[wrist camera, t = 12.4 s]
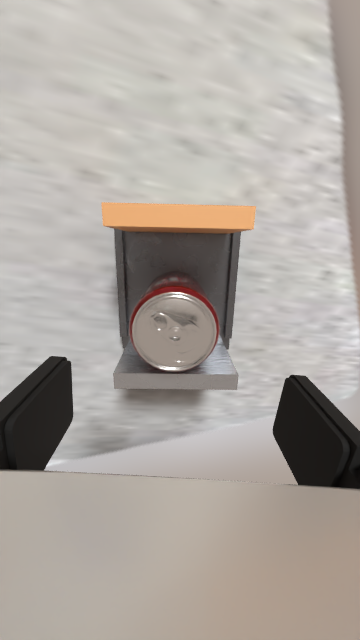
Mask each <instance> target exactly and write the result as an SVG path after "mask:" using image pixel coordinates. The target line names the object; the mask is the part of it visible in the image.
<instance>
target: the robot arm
mask: <svg viewBox="0 0 360 640" xmlns="http://www.w3.org/2000/svg"><path fill="white" fill-rule="evenodd" d="M72 419H73V398H72V373H71V362H70V361H67V358H66V357H56V356H51V357H49V358H48V359H47V360H46V361H45V362H44V363H43V364H41V365H40V366H39V367H38V368H37V369H36V370H35V371H34V372H33V373H32V374H30V375H29V376H28V377H27V378H26V379H25V380H24V381H23V382H22V383H21V384H19V385H18V386H17V387H16V388H15V389H14V390H13V391H12V392H11V393H9V394H8V395H7V396H6V397H5V398H4V399H3V400H2V401H1V402H0V640H360V431H359V430H358V429H357V428H356V427H355V426H354V425H353V424H352V423H351V422H350V421H349V420H348V419H347V418H346V417H345V416H344V415H343V414H342V413H341V412H340V411H339V410H338V409H337V408H336V407H335V406H334V404H333V403H332V402H331V401H330V400H329V399H328V398H327V397H326V396H325V395H324V394H323V393H322V392H321V391H320V390H319V389H318V388H317V387H316V386H315V385H314V384H313V383H312V382H311V381H310V380H309V379H308V378H307V377H306V376H300V375H291V376H290V377H289V378H286V380H285V383H284V387H283V390H282V394H281V398H280V402H279V406H278V410H277V414H276V418H275V422H274V426H273V435H274V437H275V440H276V442H277V443H278V445H279V447H280V449H281V451H282V453H283V455H284V457H285V459H286V461H287V463H288V465H289V467H290V469H291V471H292V473H293V475H294V477H295V479H296V481H297V483H298V485H290V484H275V483H258V482H243V481H242V482H241V481H226V480H209V479H192V478H173V477H156V476H137V475H119V474H100V473H99V474H98V473H81V472H61V471H44V469H45V467H46V465H47V464H48V462H49V460H50V458H51V457H52V455H53V453H54V452H55V450H56V448H57V446H58V445H59V443H60V441H61V440H62V438H63V436H64V434H65V433H66V431H67V429H68V427H69V426H70V424H71V422H72Z"/></svg>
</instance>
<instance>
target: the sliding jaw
mask: <svg viewBox="0 0 360 640" xmlns="http://www.w3.org/2000/svg"><path fill="white" fill-rule="evenodd" d="M255 210H256V206H225V205H184V204H143V203H103V202H102V216H103V226H106V227H110V228H115V229H119V230H123V231H127V232H169V233H214V234H230V233H235V232H241V231H246V230H252V229H254V219H255Z"/></svg>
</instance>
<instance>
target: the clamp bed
mask: <svg viewBox="0 0 360 640" xmlns="http://www.w3.org/2000/svg"><path fill="white" fill-rule="evenodd" d="M114 231H115V249H116V266H117V284H118V302H119V320H120V337H122V341H123V348H125V350H124V352H123V354H122V356H121V358H120V360H119V363H118V365H117V367H116V369H115V371H114V373H113V376H114V389H215V390H237V384H238V373H237V370H236V368H235V366H234V364H233V362H232V360H231V358H230V356H229V354H228V351H227V349H229V338H231V337H232V326H233V315H234V303H235V292H236V281H237V270H238V259H239V247H240V236H241V232H235V233H230V234H214V233H169V232H127V231H123V230H119V229H115V228H114ZM171 271H180V272H184V273H187V274H189V275H191V276H192V277H193V278H195V279H196V280H197V281H198V282H199V284H200V285H201V287H202V289H203V290H204V292H205V294H206V295H207V297H208V299H209V300H210V302H211V304H212V306H213V307H214V309H215V311H216V313H217V316H218V319H219V327H220V331H219V338H218V341H217V344H216V346H215V348H214V350H213V352H212V353H211V354H210V356H209V357H208V358H207V359H206V360H205V361H203V362H202V363H201V364H200V365H198V366H196V367H194V368H192V369H189V370H185V371H179V372H169V371H164V370H160V369H157V368H155V367H153V366H151V365H149V364H148V363H146V362H145V361H144V360H143V359H142V358H141V357H140V356H139V355H138V353H137V352H136V351H135V349H134V347H133V345H132V343H131V340H130V335H129V322H130V318H131V315H132V312H133V310H134V308H135V306H136V305H137V303H138V302H139V300H140V299H141V297H142V296H143V294H144V293H145V291H146V290H147V288H148V287H149V285H150V284H151V282H152V281H153V280H154V279H155V278H156V277H158V276H159V275H161V274H163V273H166V272H171Z"/></svg>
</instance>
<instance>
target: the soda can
mask: <svg viewBox="0 0 360 640" xmlns="http://www.w3.org/2000/svg"><path fill="white" fill-rule="evenodd" d="M219 331H220V327H219V319H218V316H217V313H216V311H215V309H214V307H213V306H212V304H211V302H210V300H209V299H208V297H207V295H206V294H205V292H204V290H203V289H202V287H201V285H200V284H199V282H198V281H197V280H196V279H195V278H193V277H192V276H191V275H189V274H187V273H184V272H180V271H171V272H166V273H163V274H161V275H159V276H158V277H156V278H155V279H154V280H153V281H152V282H151V284H150V285H149V287H148V288H147V290H146V291H145V293H144V294H143V296H142V297H141V299H140V300H139V302H138V303H137V305H136V306H135V308H134V310H133V312H132V315H131V318H130V322H129V335H130V340H131V343H132V345H133V347H134V349H135V351H136V352H137V353H138V355H139V356H140V357H141V358H142V359H143V360H144V361H145V362H146V363H148V364H149V365H151V366H153V367H155V368H157V369H160V370H164V371H169V372H179V371H185V370H189V369H192V368H194V367H196V366H198V365H200V364H201V363H202V362H203V361H205V360H206V359H207V358H208V357H209V356H210V354H211V353H212V352H213V350H214V348H215V346H216V344H217V341H218V338H219Z"/></svg>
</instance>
